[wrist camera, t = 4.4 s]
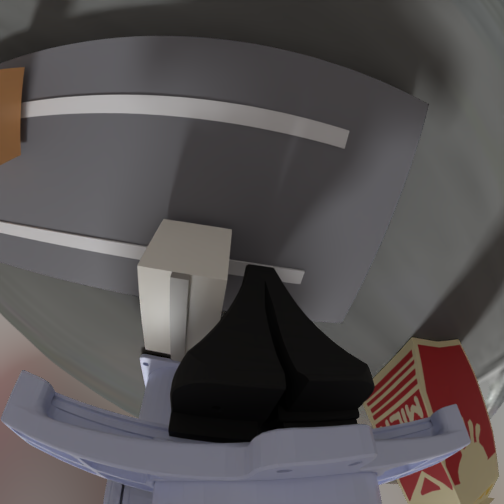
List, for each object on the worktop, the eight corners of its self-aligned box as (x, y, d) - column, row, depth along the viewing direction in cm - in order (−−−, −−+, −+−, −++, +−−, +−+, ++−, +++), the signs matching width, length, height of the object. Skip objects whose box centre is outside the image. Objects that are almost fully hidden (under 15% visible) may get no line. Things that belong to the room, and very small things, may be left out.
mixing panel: (334, 301, 18) (341, 324, 16) (-5, 242, 15) (-20, 256, 13) (407, 100, 11) (430, 104, 9) (-18, 75, 8) (-39, 79, 6)
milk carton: (357, 393, 25) (390, 561, 8) (408, 336, 20) (476, 544, 3) (416, 389, 26) (456, 526, 9) (464, 337, 22) (529, 493, 5)
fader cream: (219, 306, 14) (212, 366, 11) (162, 297, 14) (143, 354, 11) (232, 229, 12) (226, 286, 9) (163, 218, 12) (134, 270, 8)
